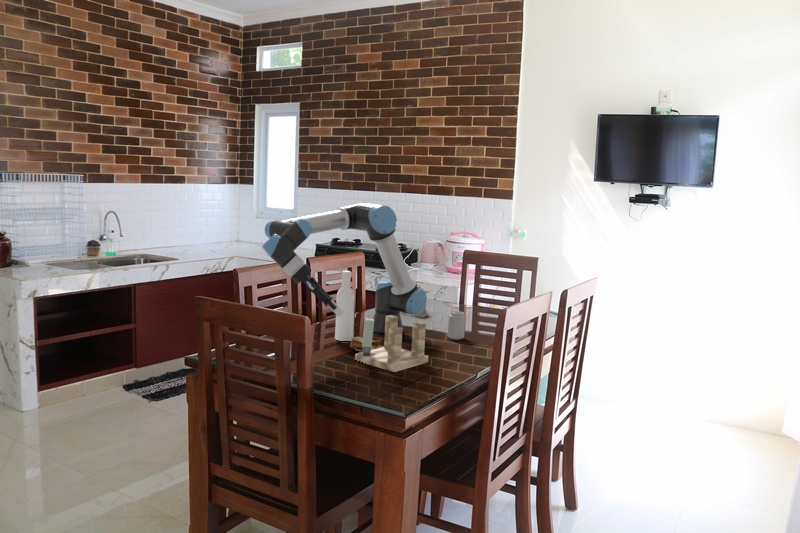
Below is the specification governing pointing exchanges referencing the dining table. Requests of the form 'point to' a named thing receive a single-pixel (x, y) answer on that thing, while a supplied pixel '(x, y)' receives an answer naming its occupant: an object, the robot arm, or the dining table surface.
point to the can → (456, 325)
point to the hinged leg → (367, 335)
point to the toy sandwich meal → (357, 344)
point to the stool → (397, 348)
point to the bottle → (345, 309)
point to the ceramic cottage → (421, 314)
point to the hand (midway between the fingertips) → (341, 314)
